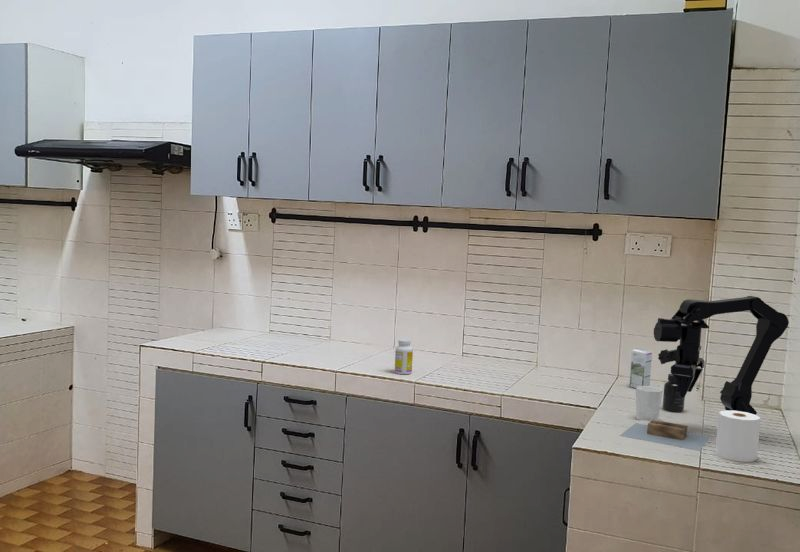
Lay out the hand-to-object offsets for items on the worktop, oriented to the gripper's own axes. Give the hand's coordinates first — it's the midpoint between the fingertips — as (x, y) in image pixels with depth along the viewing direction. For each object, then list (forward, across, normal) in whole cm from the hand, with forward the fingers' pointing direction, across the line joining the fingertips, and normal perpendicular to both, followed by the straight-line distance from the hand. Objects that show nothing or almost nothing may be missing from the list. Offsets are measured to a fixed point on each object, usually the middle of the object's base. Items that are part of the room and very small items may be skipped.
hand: (685, 394), depth 235 cm
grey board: (+12, +9, -3) cm, 15 cm away
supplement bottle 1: (+12, -16, -107) cm, 109 cm away
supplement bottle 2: (+12, -29, -9) cm, 33 cm away
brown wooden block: (+11, +8, -3) cm, 14 cm away
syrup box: (+12, -56, -27) cm, 63 cm away
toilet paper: (+12, +16, +17) cm, 26 cm away
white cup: (+12, -10, -13) cm, 20 cm away
